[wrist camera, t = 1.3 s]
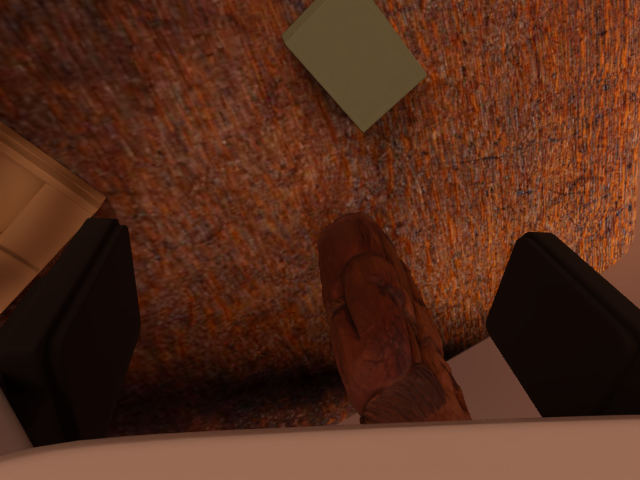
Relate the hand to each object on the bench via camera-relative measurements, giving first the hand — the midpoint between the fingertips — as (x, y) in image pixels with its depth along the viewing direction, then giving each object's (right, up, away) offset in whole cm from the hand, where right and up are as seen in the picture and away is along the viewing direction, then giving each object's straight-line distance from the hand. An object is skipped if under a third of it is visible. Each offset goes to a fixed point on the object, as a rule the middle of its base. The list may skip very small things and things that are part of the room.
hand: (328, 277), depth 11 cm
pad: (+2, +13, +18) cm, 22 cm away
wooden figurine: (+4, -1, +27) cm, 27 cm away
